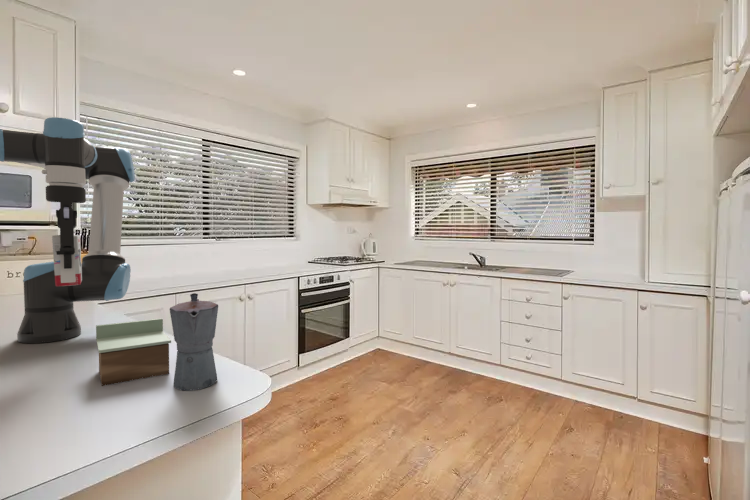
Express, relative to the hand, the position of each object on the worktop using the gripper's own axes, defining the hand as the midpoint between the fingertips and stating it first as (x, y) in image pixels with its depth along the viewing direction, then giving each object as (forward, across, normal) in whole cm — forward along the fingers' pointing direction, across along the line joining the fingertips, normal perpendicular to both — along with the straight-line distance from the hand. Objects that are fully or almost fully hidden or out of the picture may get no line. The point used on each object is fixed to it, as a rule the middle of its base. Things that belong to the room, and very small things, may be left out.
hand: (68, 279), depth 96 cm
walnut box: (+21, +14, +12) cm, 28 cm away
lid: (+14, +14, +12) cm, 23 cm away
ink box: (+1, 0, 0) cm, 1 cm away
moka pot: (+21, +29, +22) cm, 42 cm away
